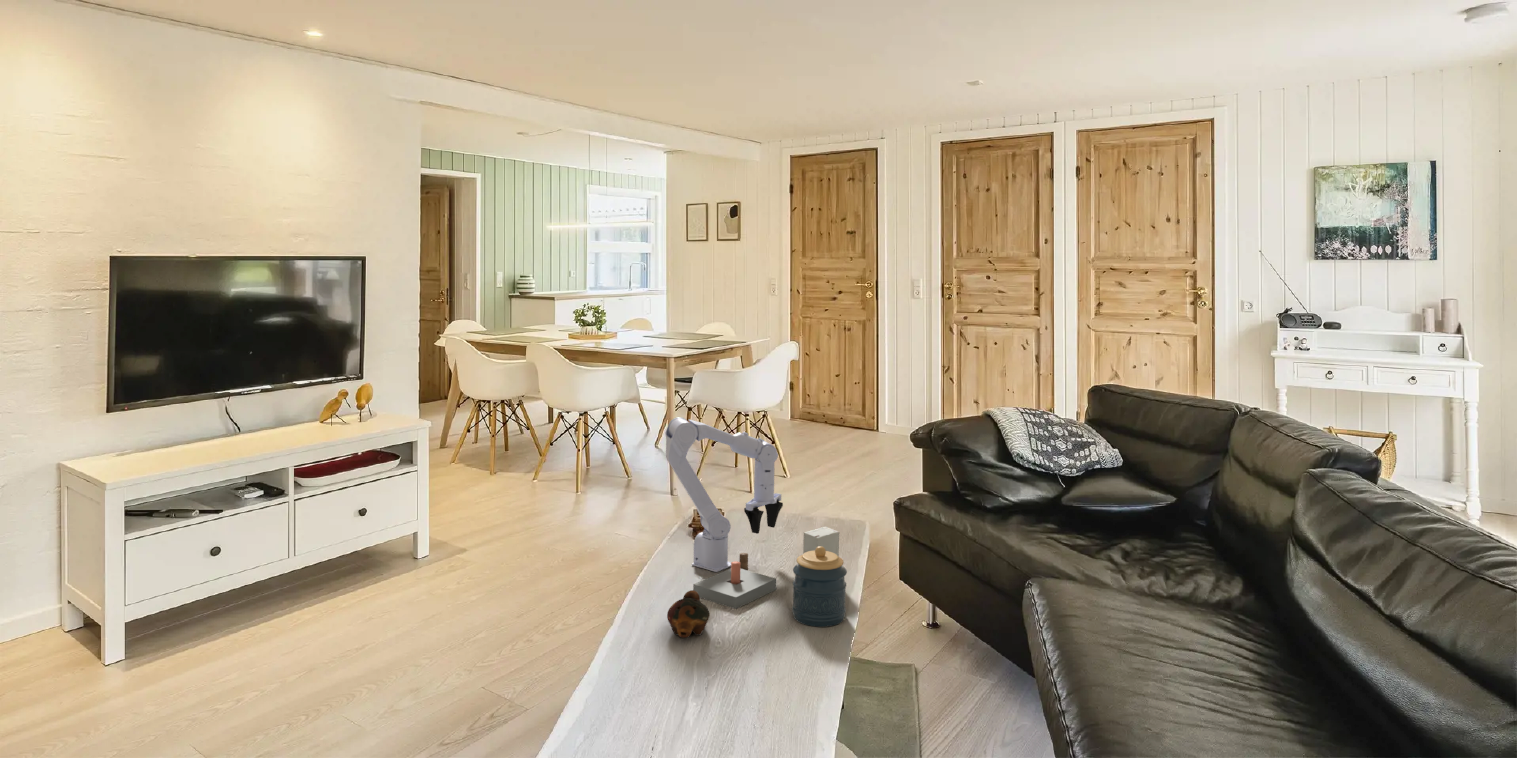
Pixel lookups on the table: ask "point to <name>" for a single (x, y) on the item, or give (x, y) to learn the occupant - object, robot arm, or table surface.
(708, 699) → the table surface
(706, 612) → the decorative turtle
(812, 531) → the skincare box
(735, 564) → the long pin
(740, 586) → the hole plate
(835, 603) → the canister
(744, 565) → the short pin
